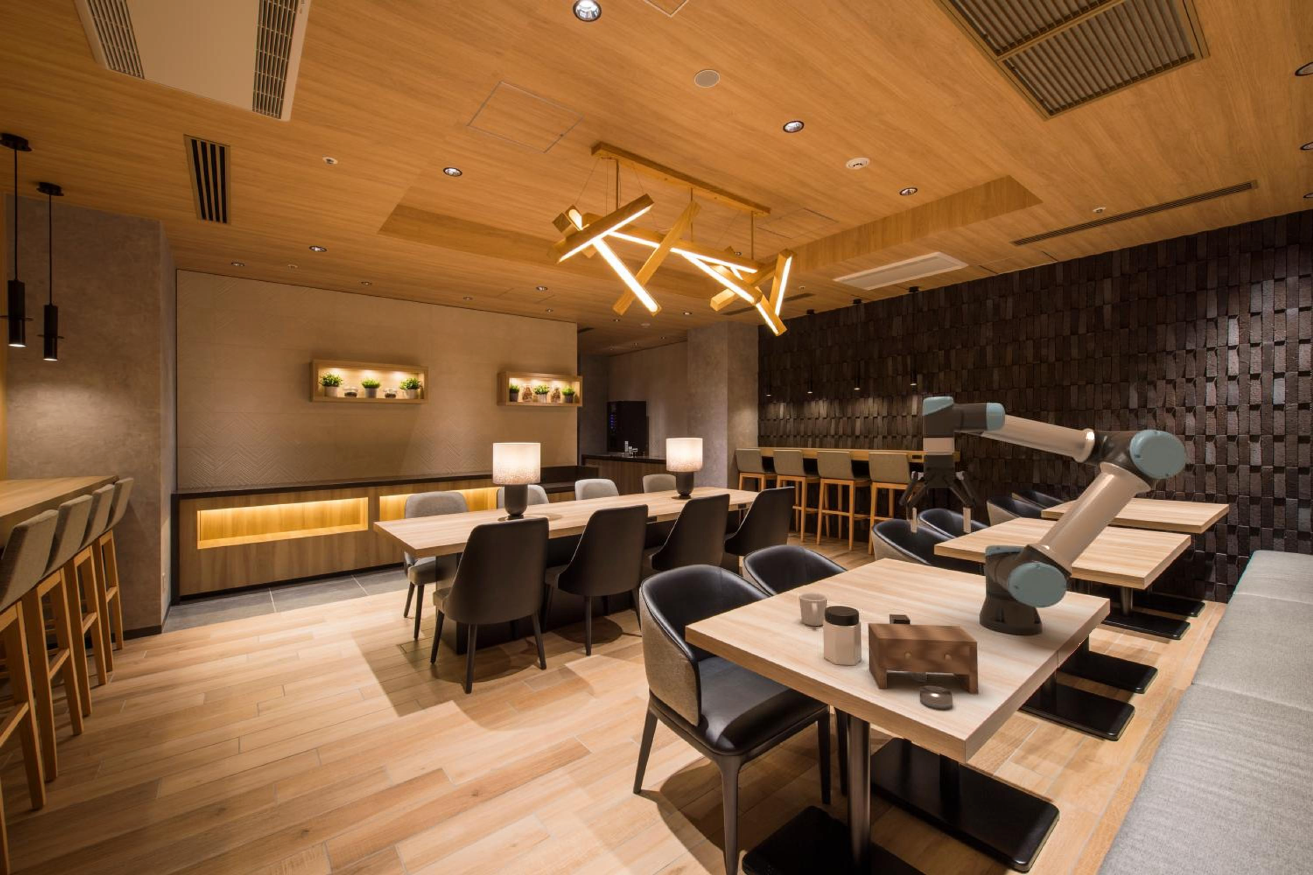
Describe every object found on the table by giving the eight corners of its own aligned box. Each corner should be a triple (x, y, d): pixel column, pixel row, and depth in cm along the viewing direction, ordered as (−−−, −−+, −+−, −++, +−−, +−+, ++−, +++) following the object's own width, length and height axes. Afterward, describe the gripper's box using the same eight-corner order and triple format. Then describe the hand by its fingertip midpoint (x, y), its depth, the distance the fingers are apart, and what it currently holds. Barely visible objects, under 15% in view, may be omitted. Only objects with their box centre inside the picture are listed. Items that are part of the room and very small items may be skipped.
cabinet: (960, 673, 127) (959, 626, 127) (979, 695, 117) (978, 643, 117) (869, 669, 131) (868, 622, 131) (879, 690, 120) (878, 639, 120)
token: (947, 698, 116) (947, 686, 116) (956, 712, 110) (956, 699, 110) (916, 696, 117) (916, 684, 117) (924, 709, 111) (923, 697, 111)
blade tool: (906, 649, 142) (905, 614, 142) (930, 682, 124) (929, 642, 124) (889, 648, 143) (889, 614, 143) (911, 681, 124) (910, 641, 124)
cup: (830, 632, 156) (829, 603, 157) (800, 630, 158) (800, 602, 158) (826, 619, 167) (825, 593, 167) (799, 618, 169) (798, 592, 169)
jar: (833, 649, 143) (832, 603, 143) (865, 657, 138) (864, 608, 138) (819, 660, 136) (818, 611, 137) (852, 668, 131) (851, 618, 131)
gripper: (982, 452, 152) (984, 530, 152) (887, 454, 156) (888, 529, 156) (994, 453, 145) (996, 534, 145) (893, 454, 149) (895, 533, 149)
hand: (940, 532), depth 151 cm, fingers open, 13 cm apart
